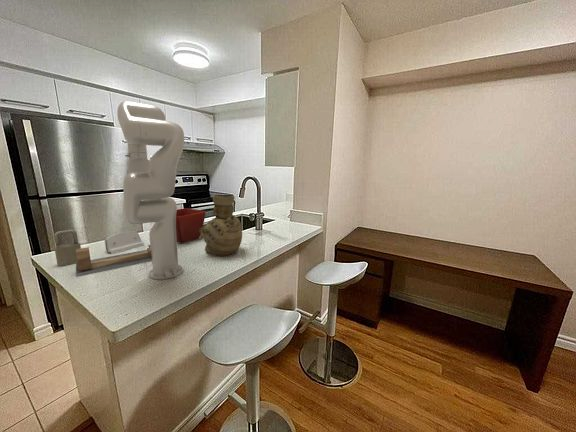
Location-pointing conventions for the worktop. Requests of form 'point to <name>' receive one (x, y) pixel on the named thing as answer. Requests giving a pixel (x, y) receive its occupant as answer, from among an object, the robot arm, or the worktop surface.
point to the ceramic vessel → (222, 228)
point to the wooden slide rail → (112, 266)
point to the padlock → (66, 249)
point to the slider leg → (83, 258)
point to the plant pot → (188, 224)
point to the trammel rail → (122, 258)
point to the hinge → (123, 242)
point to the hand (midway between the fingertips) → (142, 194)
